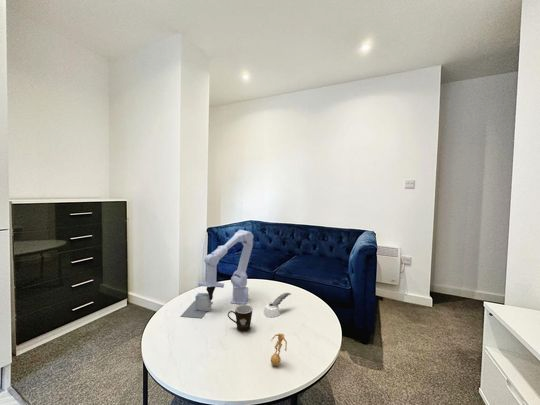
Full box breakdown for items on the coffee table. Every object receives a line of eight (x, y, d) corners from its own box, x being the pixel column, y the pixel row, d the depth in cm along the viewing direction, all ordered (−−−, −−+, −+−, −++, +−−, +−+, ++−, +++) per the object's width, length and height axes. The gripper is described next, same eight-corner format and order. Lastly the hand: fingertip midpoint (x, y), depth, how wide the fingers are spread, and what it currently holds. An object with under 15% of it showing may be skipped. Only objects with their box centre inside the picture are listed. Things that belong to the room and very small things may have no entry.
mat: (213, 302, 144) (213, 302, 144) (201, 318, 126) (201, 317, 126) (194, 301, 145) (194, 300, 145) (180, 316, 127) (180, 316, 127)
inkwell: (260, 311, 135) (261, 294, 134) (285, 304, 145) (286, 288, 144) (269, 319, 127) (270, 301, 127) (295, 310, 137) (295, 293, 137)
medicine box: (211, 307, 137) (211, 293, 137) (208, 311, 133) (208, 296, 132) (198, 306, 138) (198, 292, 137) (195, 310, 133) (195, 295, 133)
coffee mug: (255, 326, 120) (255, 307, 120) (246, 335, 113) (247, 315, 112) (235, 320, 125) (236, 302, 125) (226, 328, 117) (226, 309, 117)
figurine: (264, 361, 96) (265, 332, 95) (275, 354, 100) (276, 326, 99) (279, 373, 90) (280, 342, 89) (290, 365, 94) (291, 336, 93)
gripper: (196, 277, 131) (195, 301, 131) (221, 279, 129) (221, 303, 130) (201, 273, 138) (200, 295, 138) (225, 274, 136) (224, 297, 137)
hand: (210, 299), depth 135 cm, fingers closed, pressing on medicine box
